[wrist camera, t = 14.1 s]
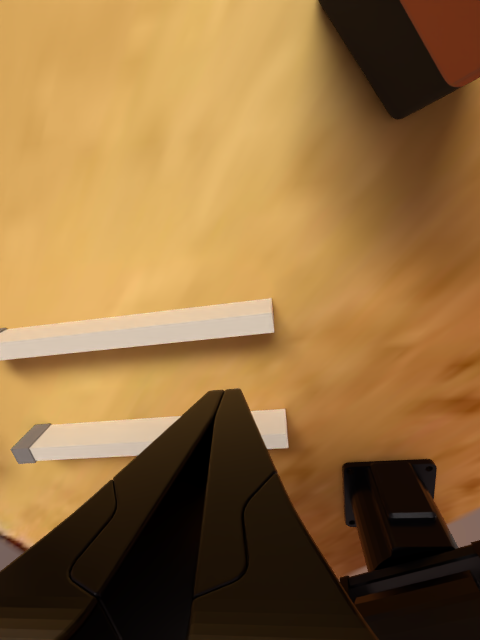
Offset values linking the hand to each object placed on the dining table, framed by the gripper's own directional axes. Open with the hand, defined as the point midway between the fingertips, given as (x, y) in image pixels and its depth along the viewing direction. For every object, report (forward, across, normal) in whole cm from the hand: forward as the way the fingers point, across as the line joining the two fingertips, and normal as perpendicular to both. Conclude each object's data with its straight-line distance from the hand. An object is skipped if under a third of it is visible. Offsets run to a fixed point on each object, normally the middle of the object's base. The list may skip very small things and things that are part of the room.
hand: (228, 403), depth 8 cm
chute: (+12, +9, +6) cm, 16 cm away
